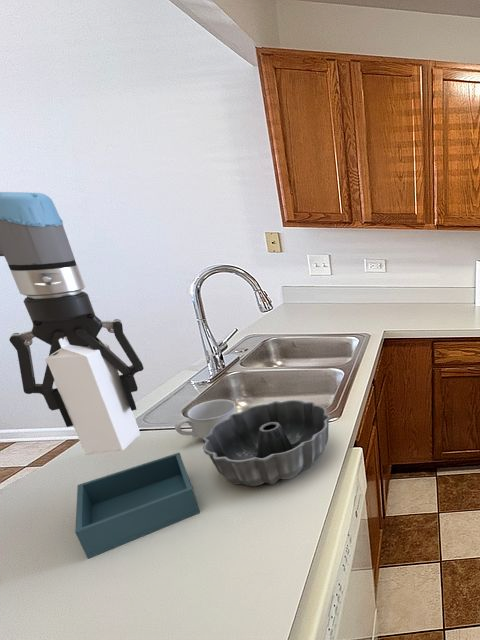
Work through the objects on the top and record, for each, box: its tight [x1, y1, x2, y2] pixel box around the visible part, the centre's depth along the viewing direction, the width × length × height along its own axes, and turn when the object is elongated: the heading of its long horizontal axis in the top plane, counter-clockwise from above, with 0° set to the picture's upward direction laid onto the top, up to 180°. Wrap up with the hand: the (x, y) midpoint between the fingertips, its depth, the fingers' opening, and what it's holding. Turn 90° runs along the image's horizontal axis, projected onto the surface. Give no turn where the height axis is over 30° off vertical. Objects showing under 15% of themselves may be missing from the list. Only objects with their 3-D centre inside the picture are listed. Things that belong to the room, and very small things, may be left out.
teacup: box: [174, 398, 238, 440], centre depth 104 cm, size 14×11×8 cm
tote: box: [74, 452, 201, 559], centre depth 79 cm, size 17×17×6 cm
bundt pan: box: [202, 399, 331, 487], centre depth 94 cm, size 26×26×10 cm
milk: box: [44, 336, 141, 455], centre depth 72 cm, size 6×6×22 cm
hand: (103, 415), depth 73 cm, fingers closed on milk, 8 cm apart
